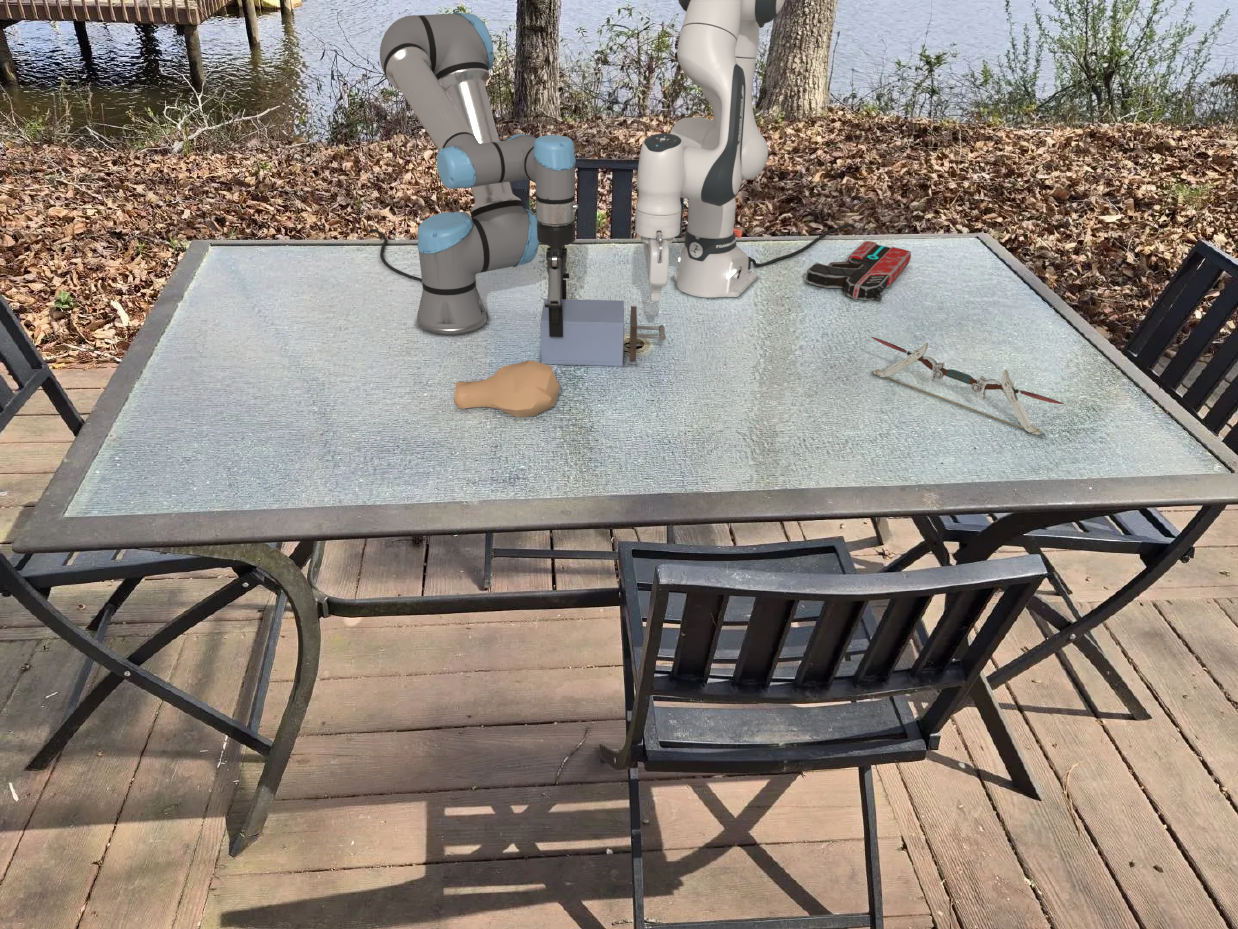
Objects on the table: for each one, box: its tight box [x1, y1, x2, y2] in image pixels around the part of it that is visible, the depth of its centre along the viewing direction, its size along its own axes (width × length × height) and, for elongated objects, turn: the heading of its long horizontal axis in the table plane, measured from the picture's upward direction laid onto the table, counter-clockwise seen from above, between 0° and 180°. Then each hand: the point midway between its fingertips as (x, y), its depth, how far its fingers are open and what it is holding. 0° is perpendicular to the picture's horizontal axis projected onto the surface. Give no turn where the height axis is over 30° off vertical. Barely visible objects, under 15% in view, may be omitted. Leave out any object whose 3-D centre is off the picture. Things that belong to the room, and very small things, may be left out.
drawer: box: [623, 305, 666, 362], centre depth 183 cm, size 22×10×8 cm, turn 90°
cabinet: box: [540, 298, 625, 367], centre depth 183 cm, size 17×11×10 cm
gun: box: [805, 240, 912, 302], centre depth 224 cm, size 4×31×19 cm
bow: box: [870, 336, 1065, 436], centre depth 169 cm, size 39×2×10 cm, turn 47°
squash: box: [453, 359, 561, 418], centre depth 163 cm, size 11×20×9 cm, turn 90°
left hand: (558, 322), depth 182 cm, fingers open, 13 cm apart
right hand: (653, 290), depth 178 cm, fingers open, 8 cm apart
